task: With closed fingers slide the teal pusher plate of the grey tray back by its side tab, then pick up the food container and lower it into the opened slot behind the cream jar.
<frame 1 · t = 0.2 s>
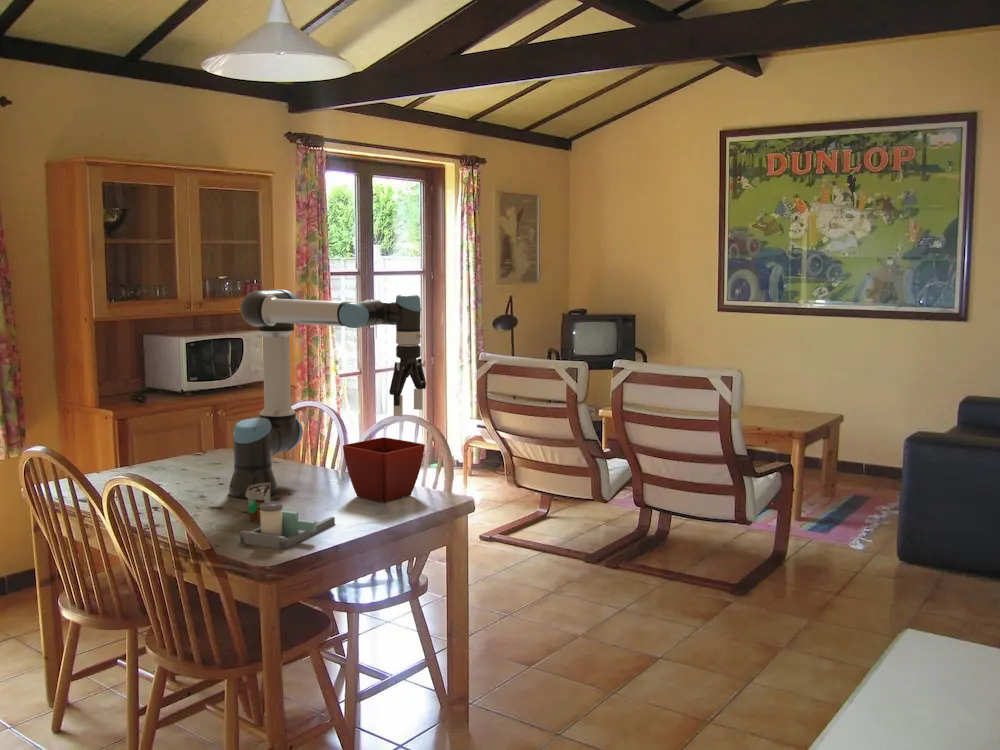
hand: (408, 412, 294), 28 cm above the table, fingers open, 13 cm apart
grey tray: (289, 535, 259), on the table
pusher: (290, 524, 254), point 5 cm above the table, slide at 0.0 cm
plant pot: (384, 496, 302), on the table
jar: (271, 541, 252), point 1 cm above the table, touching grey tray
food container: (257, 521, 273), on the table
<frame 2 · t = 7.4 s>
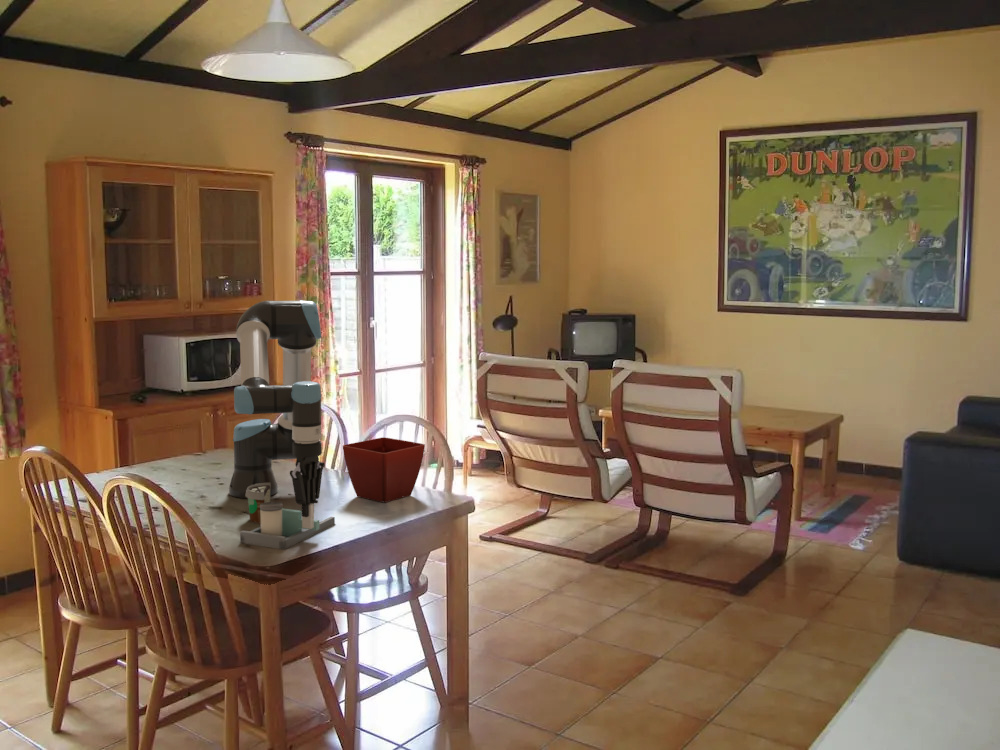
hand: (308, 527, 252), 5 cm above the table, fingers closed
pusher: (293, 522, 256), point 5 cm above the table, slide at 1.6 cm, touching gripper
everything else where it was.
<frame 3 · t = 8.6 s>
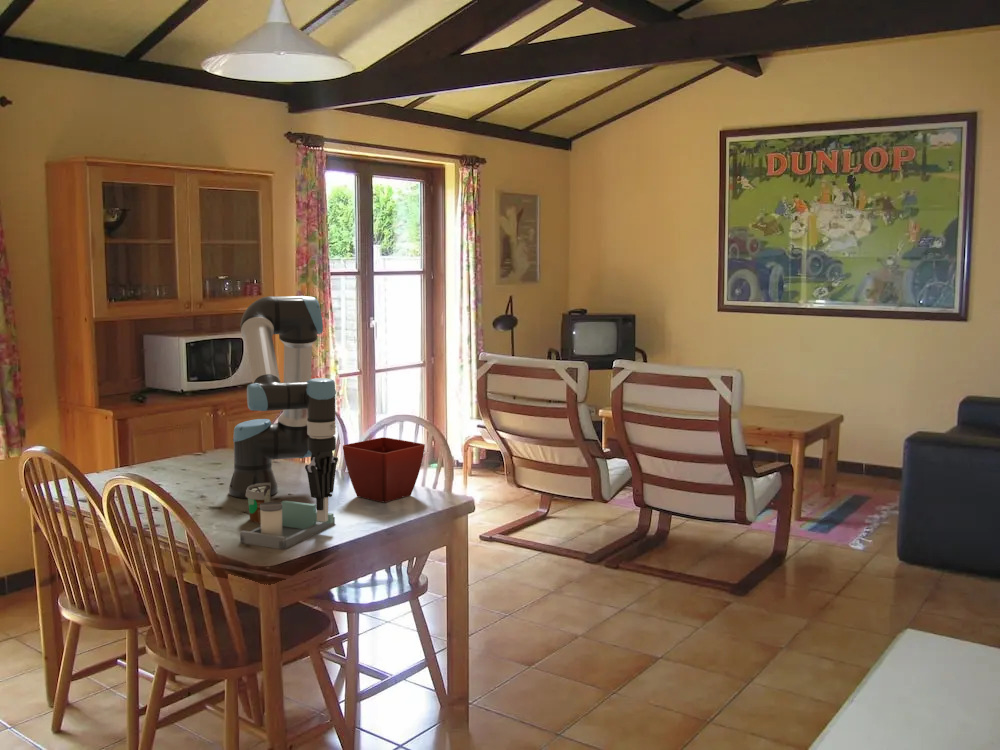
hand: (322, 520, 258), 5 cm above the table, fingers closed
pusher: (308, 516, 262), point 5 cm above the table, slide at 8.6 cm, touching gripper
everything else where it was.
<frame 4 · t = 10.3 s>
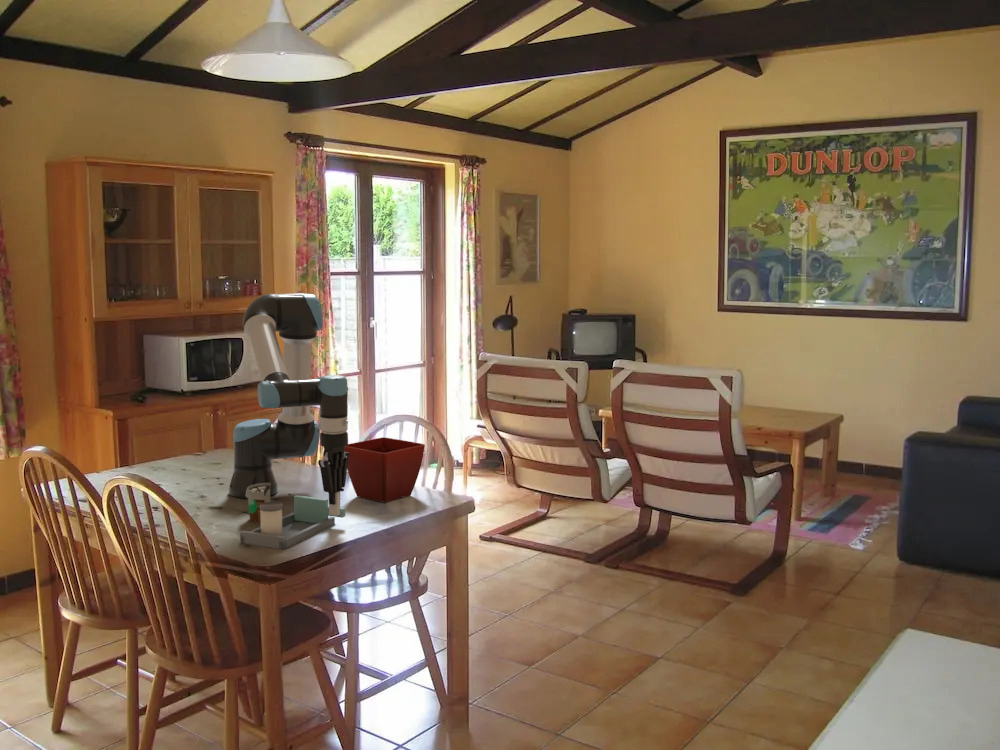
hand: (334, 514, 264), 5 cm above the table, fingers closed
pusher: (320, 510, 268), point 5 cm above the table, slide at 14.8 cm, touching gripper
everything else where it was.
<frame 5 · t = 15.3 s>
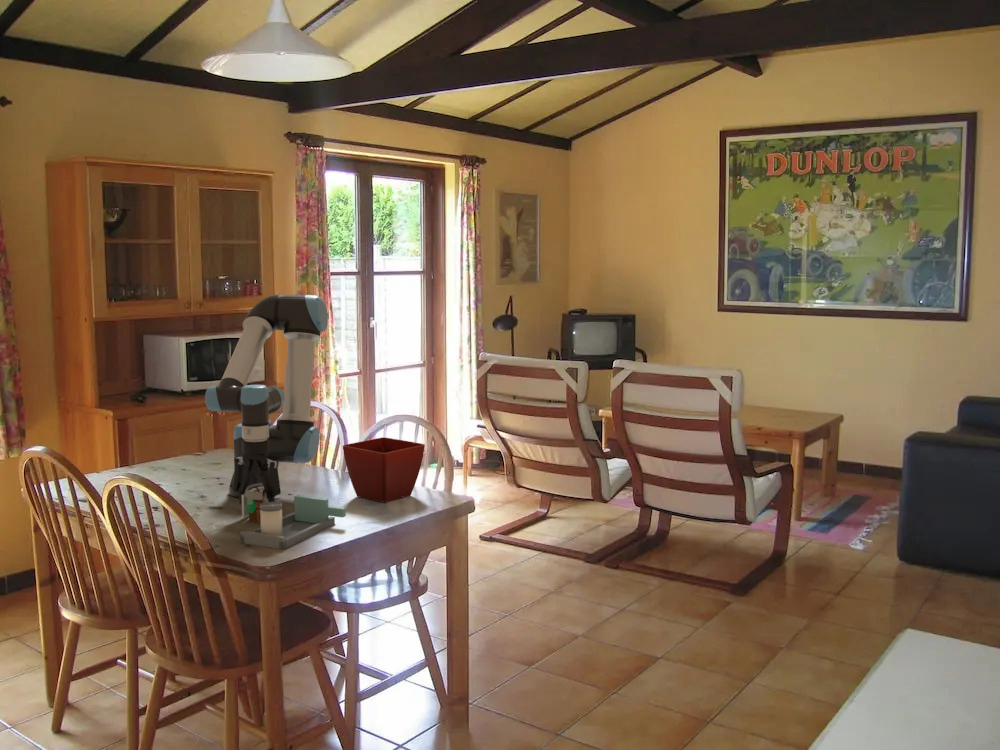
hand: (257, 517, 272), 1 cm above the table, fingers closed on food container, 7 cm apart
pusher: (320, 510, 268), point 5 cm above the table, slide at 14.9 cm
food container: (256, 521, 273), on the table, touching gripper
everything else where it was.
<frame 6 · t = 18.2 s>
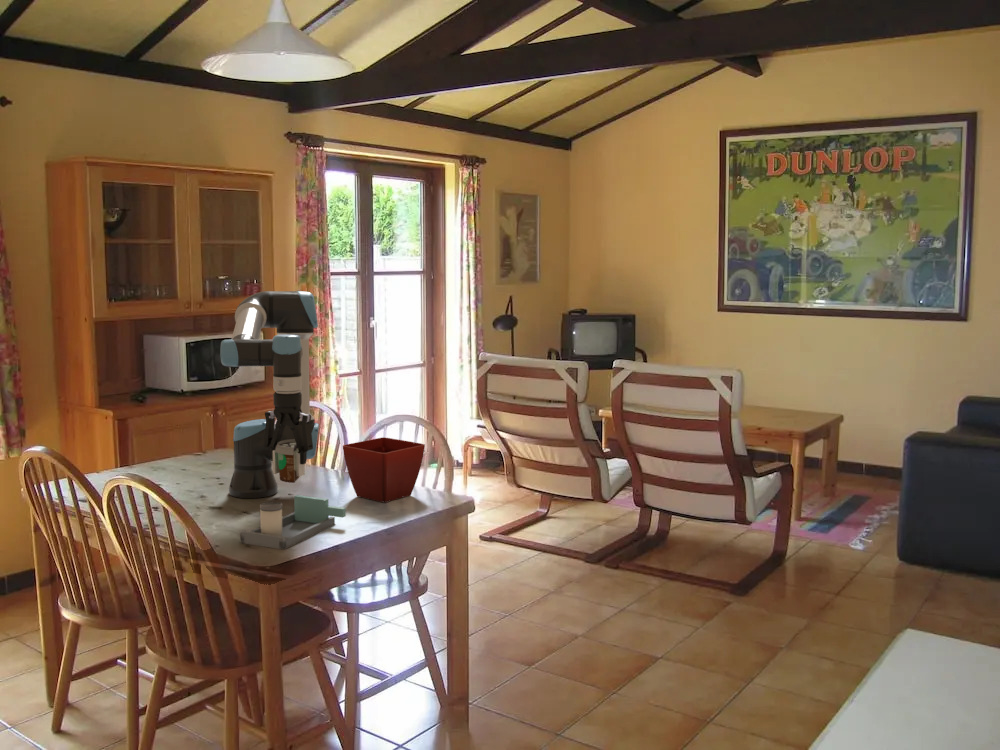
hand: (288, 474, 260), 17 cm above the table, fingers closed on food container, 7 cm apart
food container: (287, 479, 260), point 15 cm above the table, touching gripper
everything else where it was.
when the fingers open (3 cm above the table, at t = 21.1 s): food container drops 1 cm, resting on grey tray.
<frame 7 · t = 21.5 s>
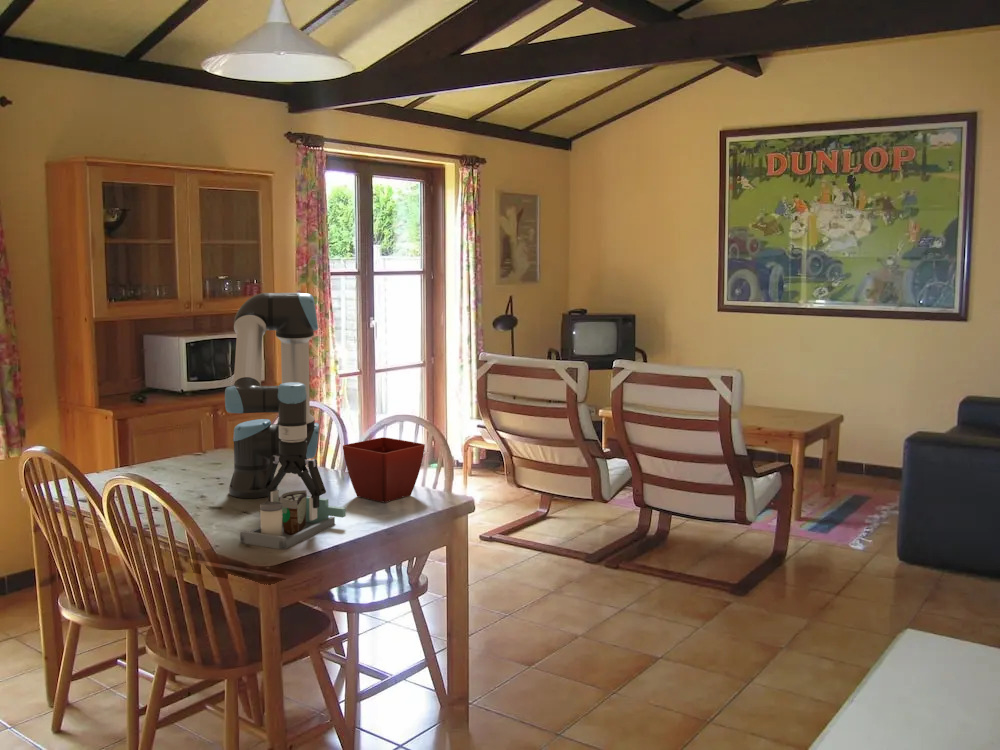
hand: (294, 516, 261), 5 cm above the table, fingers open, 12 cm apart
food container: (291, 531, 261), point 1 cm above the table, touching grey tray
everything else where it was.
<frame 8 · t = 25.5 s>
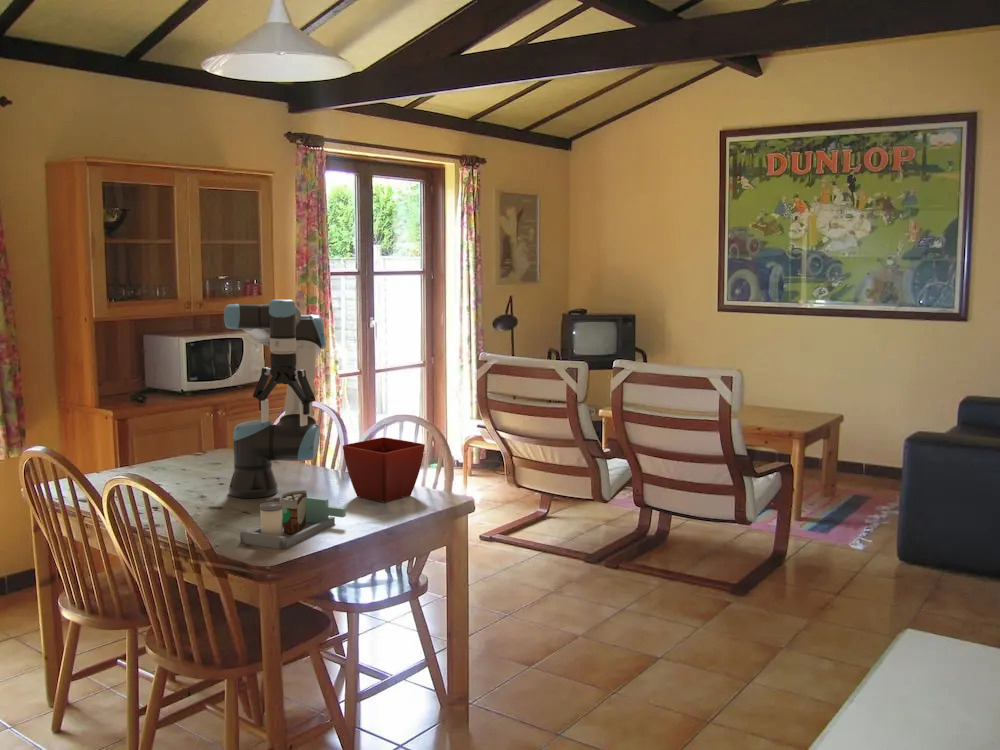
hand: (284, 423, 280), 27 cm above the table, fingers open, 13 cm apart
nothing on the table moved.
at the end: food container inside the target area on the grey tray (1.0 cm from its centre), point 0.6 cm above the grey tray's base; food container tilted 0°; pusher slide at 14.9 cm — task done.
